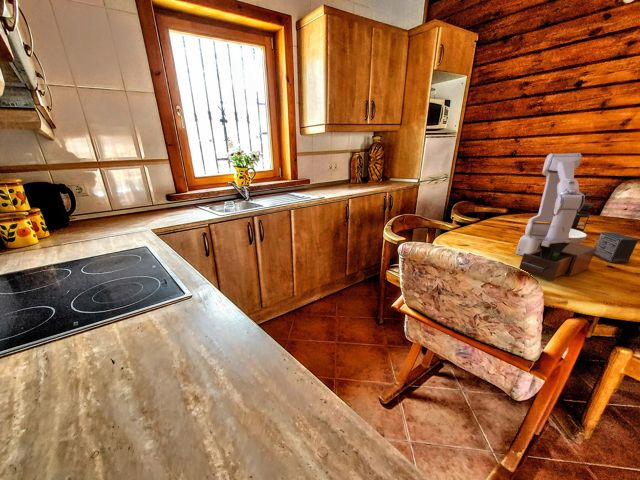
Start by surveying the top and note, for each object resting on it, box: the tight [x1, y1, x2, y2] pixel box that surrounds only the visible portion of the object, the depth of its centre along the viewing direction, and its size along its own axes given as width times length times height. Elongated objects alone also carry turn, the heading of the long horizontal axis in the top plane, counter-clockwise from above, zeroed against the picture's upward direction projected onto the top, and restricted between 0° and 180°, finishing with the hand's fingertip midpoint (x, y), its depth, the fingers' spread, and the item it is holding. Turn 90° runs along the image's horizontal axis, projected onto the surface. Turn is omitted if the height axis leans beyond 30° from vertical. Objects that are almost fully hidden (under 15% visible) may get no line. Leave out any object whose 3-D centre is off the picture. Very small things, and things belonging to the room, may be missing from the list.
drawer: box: [518, 250, 574, 282], centre depth 109 cm, size 18×11×7 cm, turn 115°
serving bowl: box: [568, 229, 588, 245], centre depth 138 cm, size 21×21×7 cm
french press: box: [571, 190, 595, 233], centre depth 146 cm, size 12×9×23 cm
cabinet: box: [537, 242, 596, 278], centre depth 114 cm, size 15×13×9 cm
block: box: [540, 252, 560, 262], centre depth 109 cm, size 4×4×4 cm
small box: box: [593, 231, 639, 264], centre depth 119 cm, size 11×6×10 cm, turn 168°
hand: (548, 260), depth 109 cm, fingers closed on block, 5 cm apart
